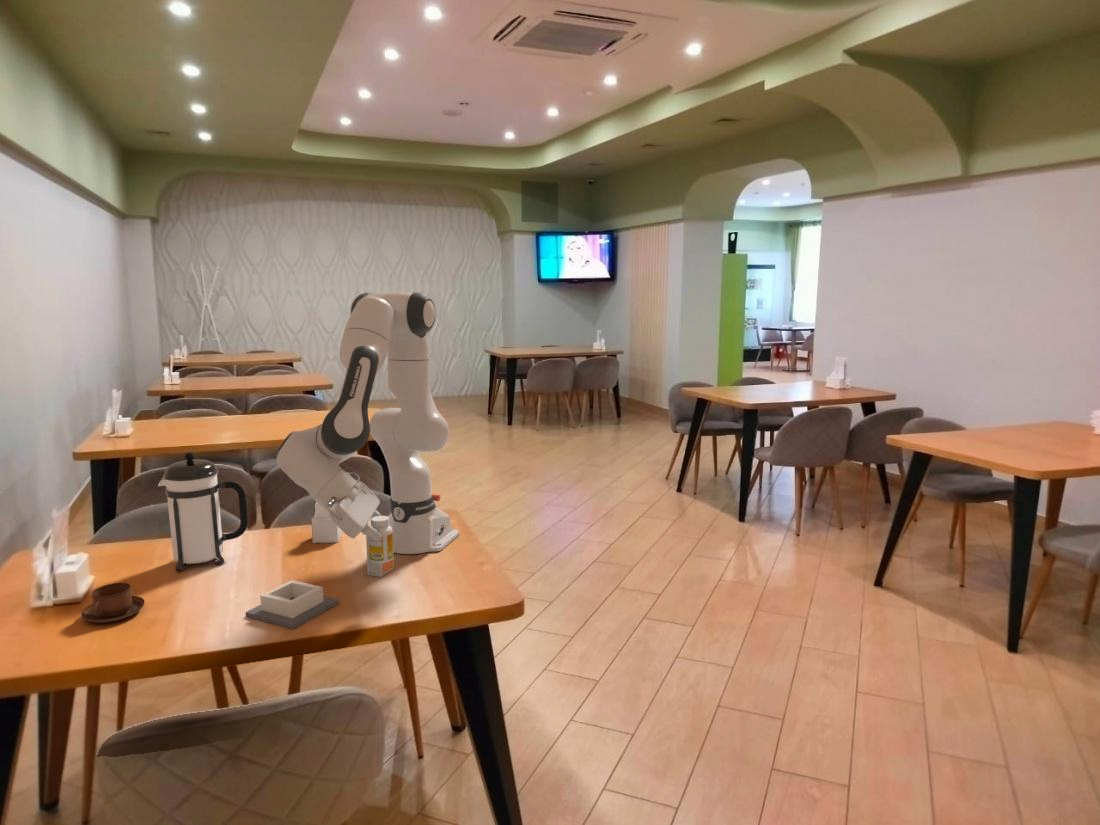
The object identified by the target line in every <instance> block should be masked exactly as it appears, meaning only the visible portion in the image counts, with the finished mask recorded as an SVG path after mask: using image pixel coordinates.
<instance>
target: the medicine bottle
mask: <svg viewBox="0 0 1100 825" xmlns="http://www.w3.org/2000/svg"><path fill="white" fill-rule="evenodd" d="M329 514H330V513H329V512H328V511H327V510H325V509H324V508H323V507H322V506H321V505H320V504H319V503H318V502H316V501H315V500H314V515H313V516H312V518H311V520H310V521H311V522H310V523H311V537H312V538H311V539H312V543H313V544H327V543H329V544H330V543H331V544H332V543H338V542H339V540H340V538H341V536H342V535H343V531H342V530H341V529H340V528H339V527H338V526H337V525H336V524H335V523H334V522H333V521H332V519H331V518H330V515H329Z"/></svg>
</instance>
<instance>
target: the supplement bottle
mask: <svg viewBox="0 0 1100 825" xmlns="http://www.w3.org/2000/svg"><path fill="white" fill-rule="evenodd" d="M370 525H371V527H372V528H374V529H375V530H379V531H380V532H381V533H382V534H383V536H382V538H381V539H380V540H379V541H378V542H376V541H375V540H374V539H372V538H371V537H369V536H368V539H369V558H370V561H371V562H373V563H386V562H389V561H391V560H392V559H393V560H394V553H395V552H394V551H393V530H392V527H391V526H389V516H387V515H381V516H376V517H373V518H371V519H370Z"/></svg>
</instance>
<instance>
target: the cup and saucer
mask: <svg viewBox="0 0 1100 825" xmlns="http://www.w3.org/2000/svg"><path fill="white" fill-rule="evenodd" d="M91 595H92V604H90V605H89V606H87V607H85V608H84V609H83V610H82V611H81V616H82V618H83V619H84V620H85V621H87V622H89V623H96V624H104V623H105V624H106V623H113V622H118V621H121V620H125V619H127V618H129V617H132V616H134V615H135V614H136V613H138V612H140V611H141V609H142V608H144V606H145V599H144V598H142V597H141V596H135V595H132V585H131V584H130V583H128V582H115V583H108V584H106V585H102V586H99V587H96V588H95V589H94V590H93V591H92V593H91Z"/></svg>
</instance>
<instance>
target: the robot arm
mask: <svg viewBox="0 0 1100 825" xmlns="http://www.w3.org/2000/svg"><path fill="white" fill-rule="evenodd" d="M348 317H349V318H348V320H347V322H346V325H345V327H344V331H343V334H342V338H341V342H340V348H339V360H340V361H339V362H340V363H341V365H342V366H343V367H344V368H345V369H346V371H345V376H344V379H343V382H342V387H341V391H340V395H339V398H338V401H337V403H336V404H335V405H334V407H333V408H332V409H331V410H330V411H328V413H327V414H326V416H325V417H324V419H323V421H322V423H320V424H319V425H316V426H313V427H311V428H307V429H303V430H298V431H297V430H295V431H292V432H289V434H288V435H287V436H286V437H285V438H284V440H283V441H282V443H281V444H280V445H279V447H278V449H277V450H276V453H275V455H274V456H275V462H276V464H277V465H278V467H279V468H280V469H281V471H283V472H284V473H285V475H286V476H288V478H289V479H291V481H293V482H294V483H295V484H296V485H297V486H299V487H301V488H303V489H305V491H306V492H307V493H308V494H309V496H310V497H311V498H312V499H313V500H314V502H315V501H316V502H318V503H319V504H320V505H321V506H322V507H323V508H324V509H325V510H327V511H328V512H329V513H330V514H329V515H330V518H331V519H332V521H333V522H334V523H335V524H336V525H337V526H338V527H339V528H340V529H341V530H342V533H344V534H345V535H346V536H347V537H348V538H351V539H355V538H356V537H357V536H358V535H359V534H361V533H362V535H365V537H366V536H369V537H371V538H372V539H374V540H375V541H376V542H378V541H379V540H380V539H381V538H382V536H383V534H382V533H381V532H380V531H379V530H375V529H374V528H372V526H371V523H370V522H369V521H371V518H373V517H376V516H382V514H381V513H380V512H379V511H378V510H377V509H378V508H379V505H380V504H381V501H380V499H379V497H378V496H377V494H376V493H375V492H373V491H372V490H371V489H370V488H369V487H368V486H367V485H366V484H365V483H364V482H363V481H360V479H361V478H360V476H359V474H357V473H356V472H347V471H345V470H344V469H342V467H340V464H341V463H342V462H345V461H346V460H348V459H350V458H351V457H352V456H353V455H354V454H355V453H356V452H358V451H359V450H361V449H362V448H363V447H365V445H366V443H367V442H368V440H369V439H370V436H371V438H372V439H373V440H374V441H375V442H376V443H377V445H378V446H379V447H380V449H381V452H382V454H383V456H384V459H385V461H386V464H387V469H388V472H389V480H390V481H389V483H390V484H389V485H390V498H389V505H388V506H389V512H390V514H389V515H388V517H389V525H392V530H393V551H394V553H395V554H402V555H416V554H417V555H418V554H423V553H427V552H428V553H430V552H432V553H433V552H434V553H435V552H440V551H442V550H443V549H445V548H446V547H447V546H448V545H449V544H450V543H451V542H452V541H453V540H455V539H456V538H457V537H458V536H459V535H460V531H459V529H456V528H453V527H452V525H451V519H450V516H449V514H447V513H446V512H444V511H443V510H441V509H440V508H438V507H437V505H436V503H435V502H440V501H441V499H442V498H441V494H439V493H437V494H436V493H432V479H431V478H432V477H431V476H432V475H431V469H430V467H429V466H428V464H427V463H426V462H425V461H424V459H423V458H422V456H421V455H420V453H431V452H438V451H441V450H442V449H443V448H444V447H445V446H446V445H447V443H448V441H449V438H450V427H449V423H448V422H447V420H446V418H444V417H443V416H442V414H441V413H440V411H439V410H438V408H437V406H436V403H435V401H434V399H433V396H432V395H433V394H432V391H431V385H430V384H431V383H430V351H429V349H430V348H429V342H428V335H427V334H428V333H429V332H430V331H431V329H432V328H433V327H434V324H435V322H436V306H435V303H434V301H433V299H432V298H431V297H430V295H427V294H426V293H422V292H416V291H414V292H408V291H398V290H397V291H396V290H395V291H394V290H393V291H382V292H379V291H378V292H369V291H368V292H364V293H361V294H359V295H357V296H356V297H355V298H354V300H353V301H352V304H351V307H350V316H348ZM386 357H387V386H388V389H389V391H390V392H391V393H392V394H393V395H394V397H395V398H396V400H397V402H398V404H399V407H389V408H388V407H387V408H382V409H379V410H377V411H375V413H373V414H372V416H371V418H370V419H369V412H368V410H369V409H368V408H369V404H370V398H371V394H372V390H373V387H374V382H375V379H376V376H377V374H378V373H379V371H380V370H381V368H382V365H383V364H384V362H385V360H386Z"/></svg>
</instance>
